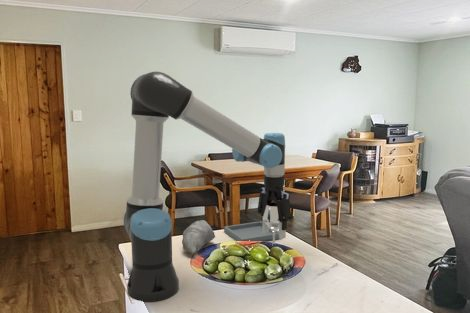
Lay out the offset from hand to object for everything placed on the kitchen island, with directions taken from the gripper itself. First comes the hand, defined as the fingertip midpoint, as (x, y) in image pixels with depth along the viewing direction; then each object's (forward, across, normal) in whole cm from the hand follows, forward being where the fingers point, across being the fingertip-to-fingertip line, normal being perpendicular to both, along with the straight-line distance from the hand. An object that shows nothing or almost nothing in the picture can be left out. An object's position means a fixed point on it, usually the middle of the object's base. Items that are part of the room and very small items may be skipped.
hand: (273, 235), depth 147 cm
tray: (+6, +18, -6) cm, 20 cm away
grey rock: (+7, +21, +20) cm, 30 cm away
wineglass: (+6, 0, 0) cm, 6 cm away
